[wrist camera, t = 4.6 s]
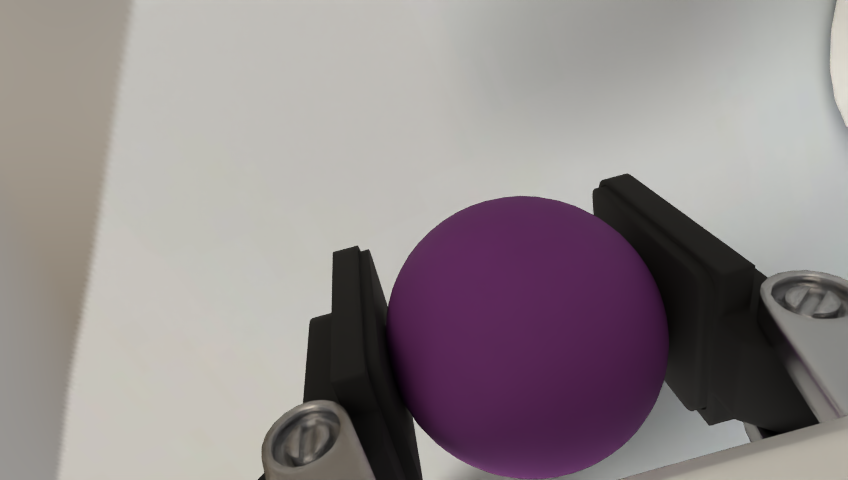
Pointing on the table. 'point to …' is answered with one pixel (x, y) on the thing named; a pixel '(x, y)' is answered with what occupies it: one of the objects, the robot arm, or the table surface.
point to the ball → (527, 337)
